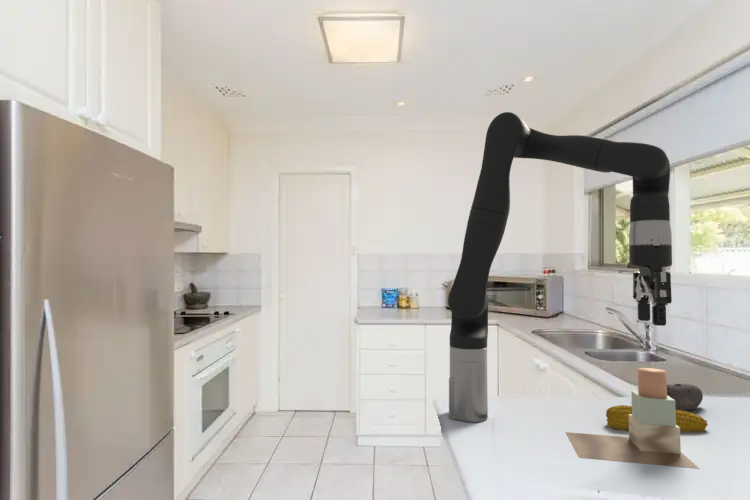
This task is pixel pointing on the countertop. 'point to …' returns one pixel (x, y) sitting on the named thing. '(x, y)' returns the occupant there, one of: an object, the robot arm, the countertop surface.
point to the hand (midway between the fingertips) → (651, 322)
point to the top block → (653, 410)
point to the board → (622, 451)
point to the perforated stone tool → (685, 396)
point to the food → (684, 420)
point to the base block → (654, 437)
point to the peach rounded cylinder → (652, 383)
